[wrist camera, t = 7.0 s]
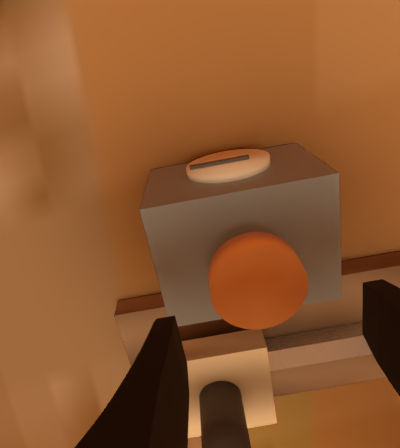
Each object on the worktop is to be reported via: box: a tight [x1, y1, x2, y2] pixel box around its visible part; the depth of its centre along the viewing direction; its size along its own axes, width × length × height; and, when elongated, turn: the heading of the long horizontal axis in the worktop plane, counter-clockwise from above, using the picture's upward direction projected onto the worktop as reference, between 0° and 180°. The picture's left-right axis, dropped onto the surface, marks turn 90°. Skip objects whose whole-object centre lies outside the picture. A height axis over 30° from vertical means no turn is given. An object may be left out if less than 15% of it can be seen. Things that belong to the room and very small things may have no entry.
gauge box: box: [140, 143, 342, 327], centre depth 18 cm, size 6×8×6 cm
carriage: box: [182, 329, 277, 448], centre depth 20 cm, size 6×6×8 cm
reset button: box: [208, 232, 308, 330], centre depth 14 cm, size 4×4×2 cm
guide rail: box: [264, 322, 372, 371], centre depth 23 cm, size 2×21×1 cm, turn 100°
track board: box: [114, 251, 400, 397], centre depth 24 cm, size 9×22×2 cm, turn 100°
